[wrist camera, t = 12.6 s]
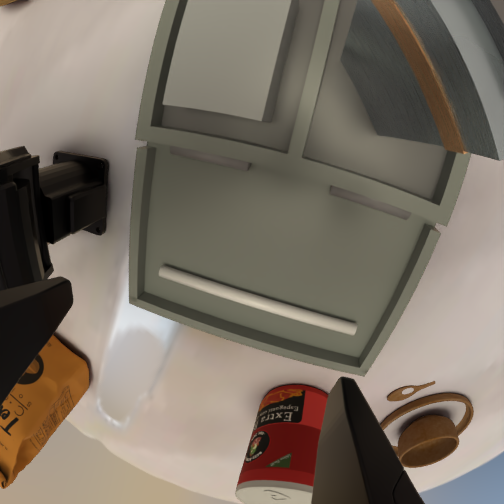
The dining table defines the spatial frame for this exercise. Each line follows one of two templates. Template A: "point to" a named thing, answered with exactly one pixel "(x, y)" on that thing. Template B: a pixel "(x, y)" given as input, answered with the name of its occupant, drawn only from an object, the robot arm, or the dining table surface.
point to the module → (431, 71)
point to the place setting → (427, 429)
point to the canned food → (283, 447)
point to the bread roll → (5, 2)
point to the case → (277, 186)
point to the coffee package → (39, 406)
